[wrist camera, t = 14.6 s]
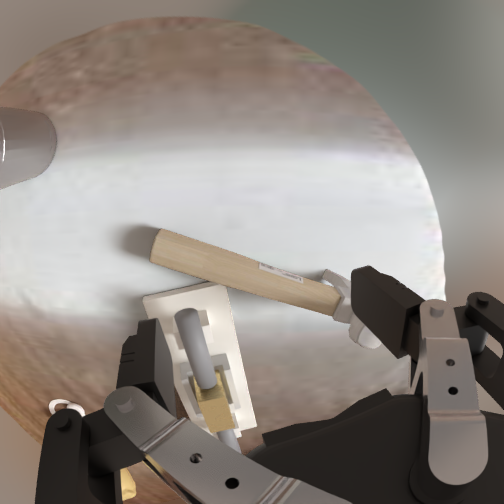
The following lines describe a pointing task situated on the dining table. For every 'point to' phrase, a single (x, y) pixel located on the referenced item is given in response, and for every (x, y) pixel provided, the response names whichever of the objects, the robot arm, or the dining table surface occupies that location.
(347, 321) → the hammer
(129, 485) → the tan round ball
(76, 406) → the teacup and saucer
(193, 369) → the shaft rig
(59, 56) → the dining table surface
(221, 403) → the gold rectangular block
